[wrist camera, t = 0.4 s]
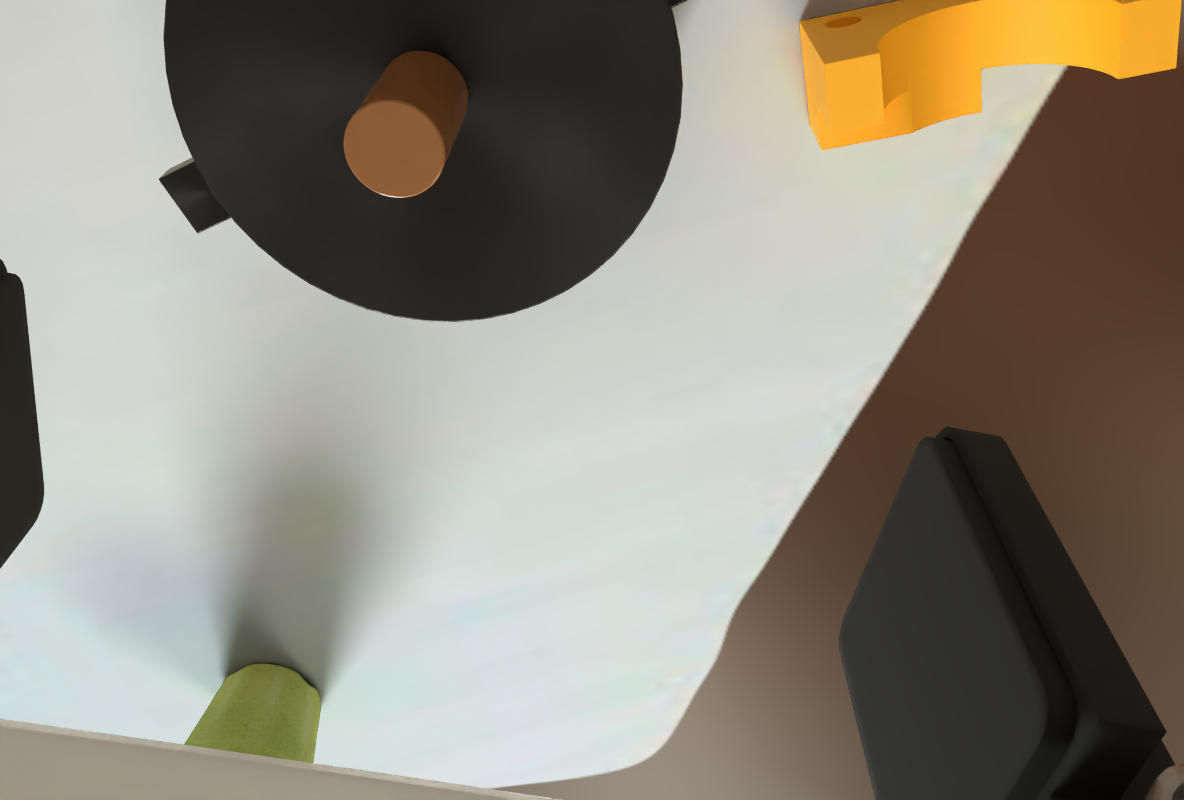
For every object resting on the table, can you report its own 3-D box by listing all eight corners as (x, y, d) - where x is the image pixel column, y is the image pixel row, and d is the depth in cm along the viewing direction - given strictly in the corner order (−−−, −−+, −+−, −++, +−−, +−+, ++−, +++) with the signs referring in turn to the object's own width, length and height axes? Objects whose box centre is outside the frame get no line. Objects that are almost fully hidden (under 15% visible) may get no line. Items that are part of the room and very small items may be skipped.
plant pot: (191, 631, 62) (133, 751, 55) (351, 652, 63) (315, 773, 56) (198, 735, 67) (146, 858, 60) (346, 754, 68) (312, 878, 61)
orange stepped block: (809, 124, 45) (835, 179, 40) (799, 21, 43) (824, 64, 37) (1103, 67, 43) (1171, 116, 38) (1108, -43, 41) (1182, -8, 36)
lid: (68, -45, 35) (-41, 0, 29) (540, -319, 30) (520, -330, 25) (351, 369, 43) (310, 467, 37) (754, 201, 39) (776, 283, 33)
